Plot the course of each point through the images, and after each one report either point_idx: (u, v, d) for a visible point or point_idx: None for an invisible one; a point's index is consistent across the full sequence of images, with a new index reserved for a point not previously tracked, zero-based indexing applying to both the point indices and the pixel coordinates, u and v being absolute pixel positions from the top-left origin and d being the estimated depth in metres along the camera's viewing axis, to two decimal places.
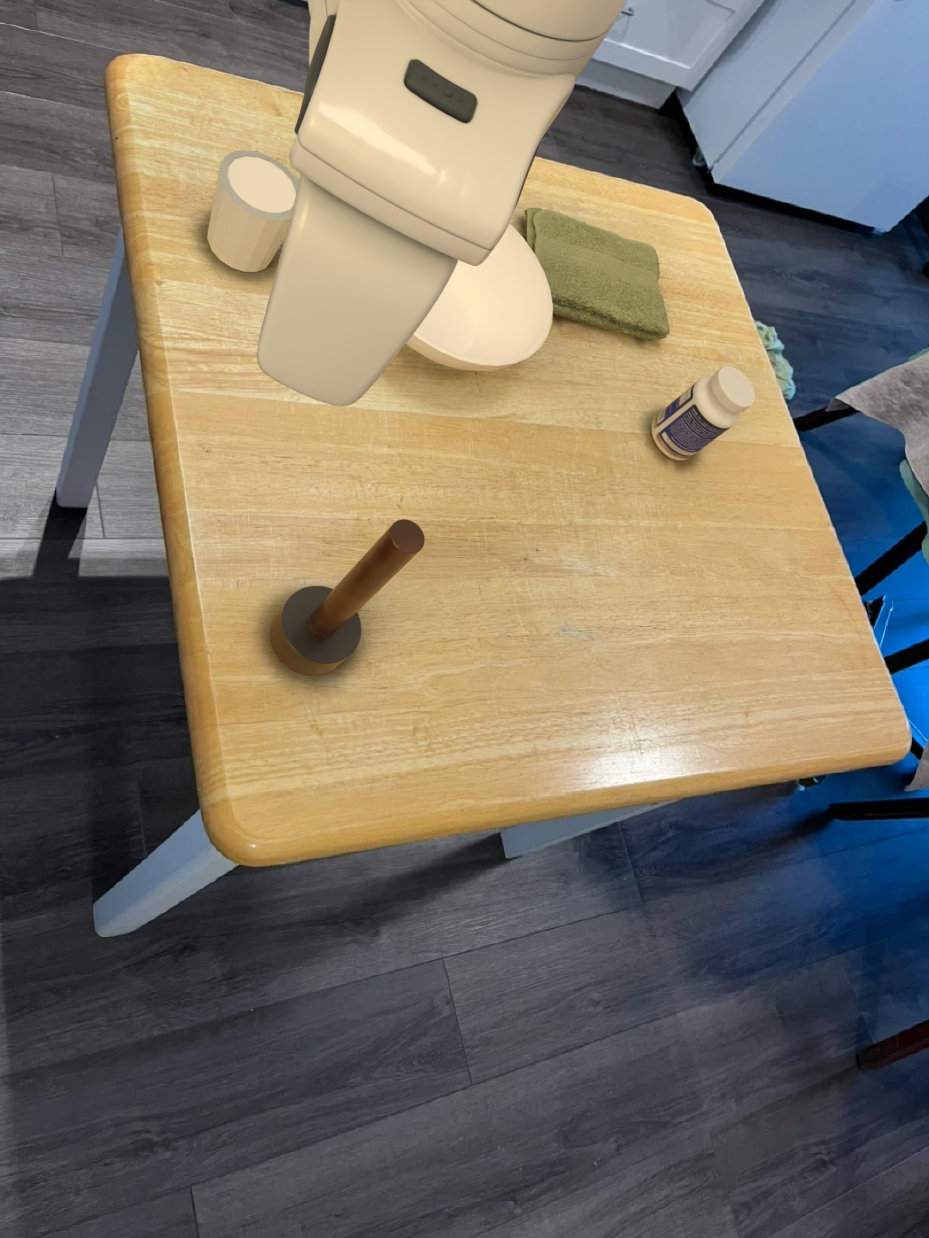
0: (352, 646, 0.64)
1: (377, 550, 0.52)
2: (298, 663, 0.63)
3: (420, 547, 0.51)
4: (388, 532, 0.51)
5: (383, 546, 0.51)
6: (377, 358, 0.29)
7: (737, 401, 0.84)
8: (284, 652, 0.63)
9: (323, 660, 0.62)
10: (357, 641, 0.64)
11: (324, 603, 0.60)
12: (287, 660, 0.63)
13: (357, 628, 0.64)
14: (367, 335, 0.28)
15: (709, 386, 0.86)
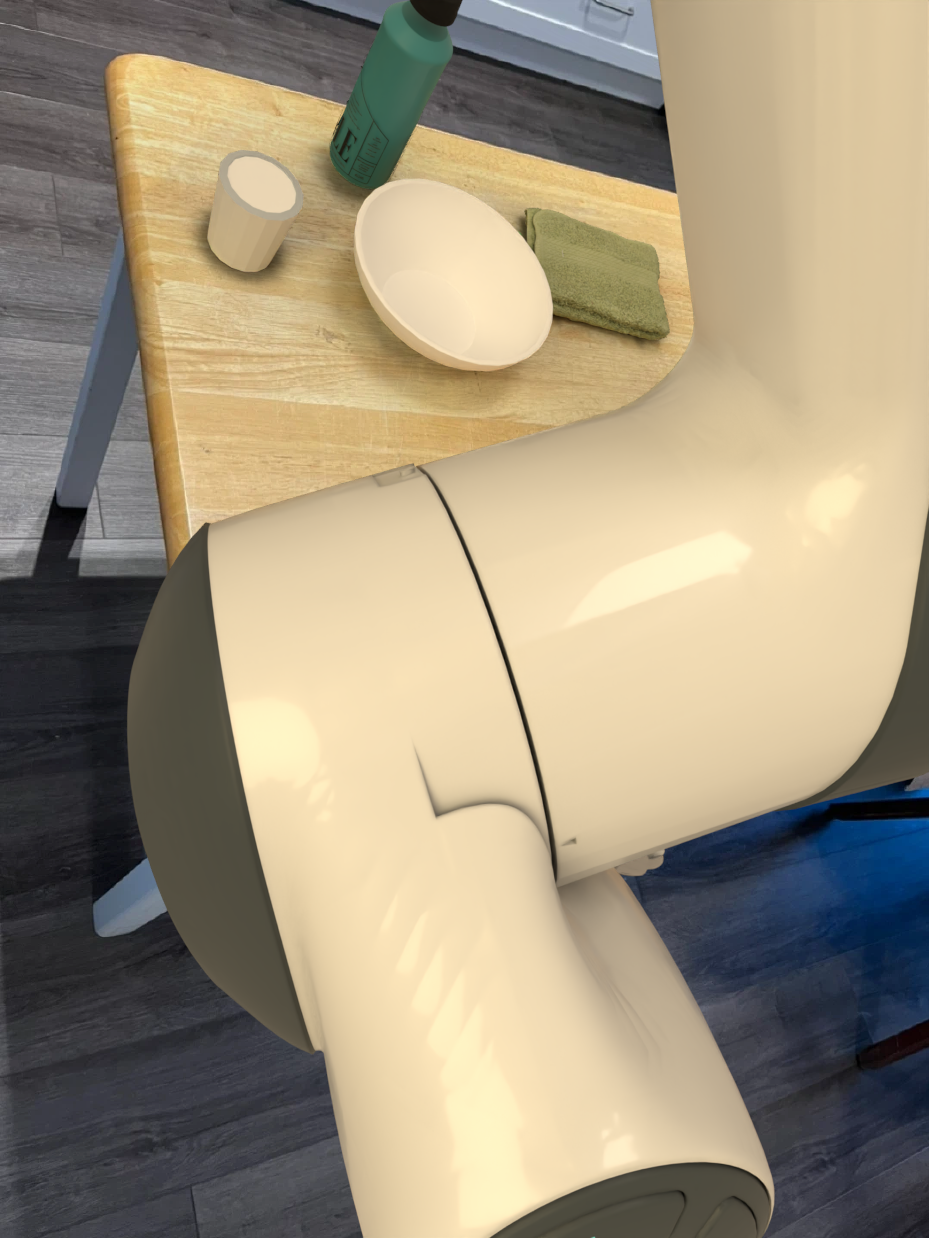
0: None
1: None
2: None
3: None
4: None
5: None
6: None
7: None
8: None
9: None
10: None
11: None
12: None
13: None
14: None
15: None
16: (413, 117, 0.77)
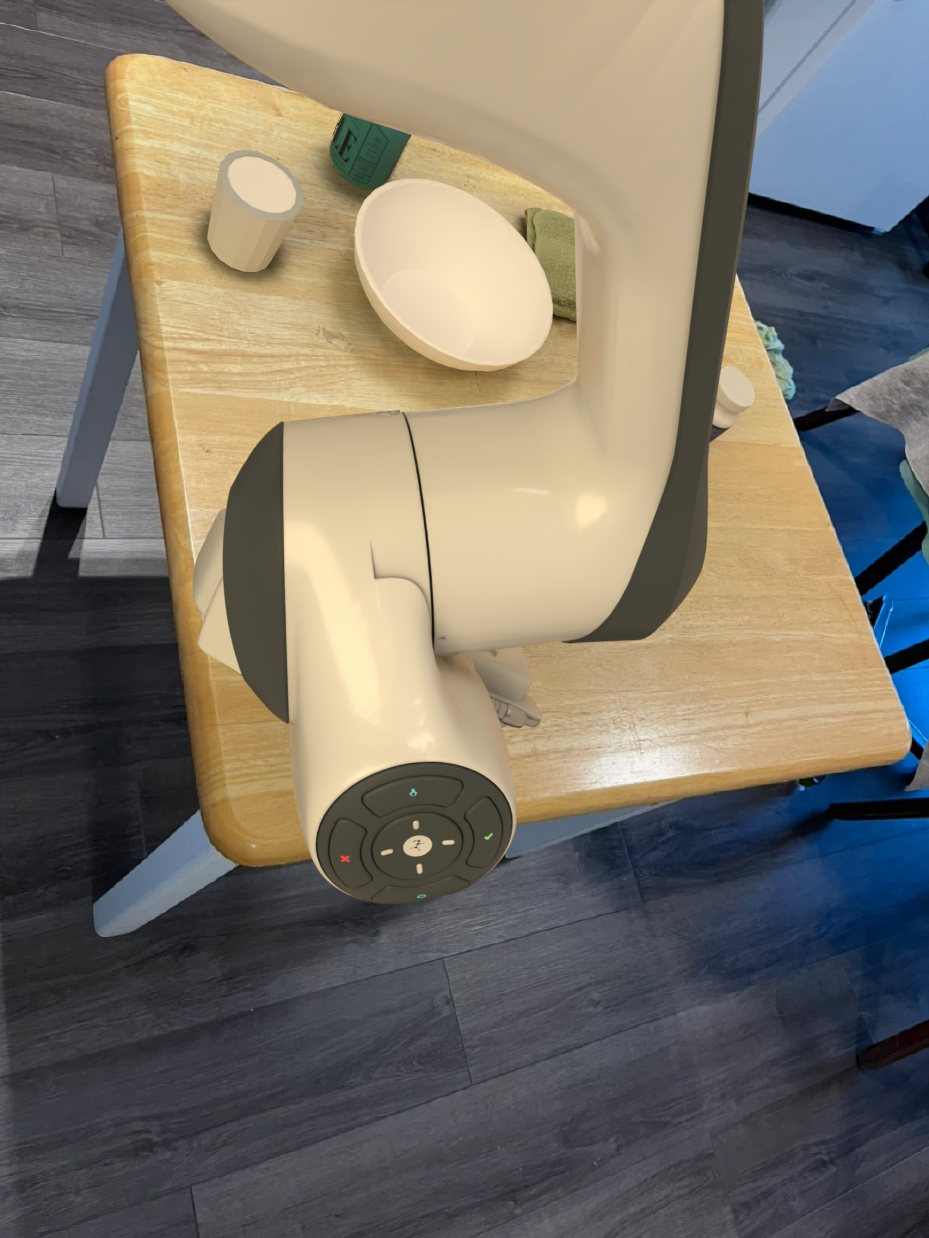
0: None
1: None
2: None
3: None
4: None
5: None
6: (194, 575, 0.47)
7: (737, 401, 0.84)
8: None
9: None
10: None
11: None
12: None
13: None
14: (199, 569, 0.46)
15: None
16: None
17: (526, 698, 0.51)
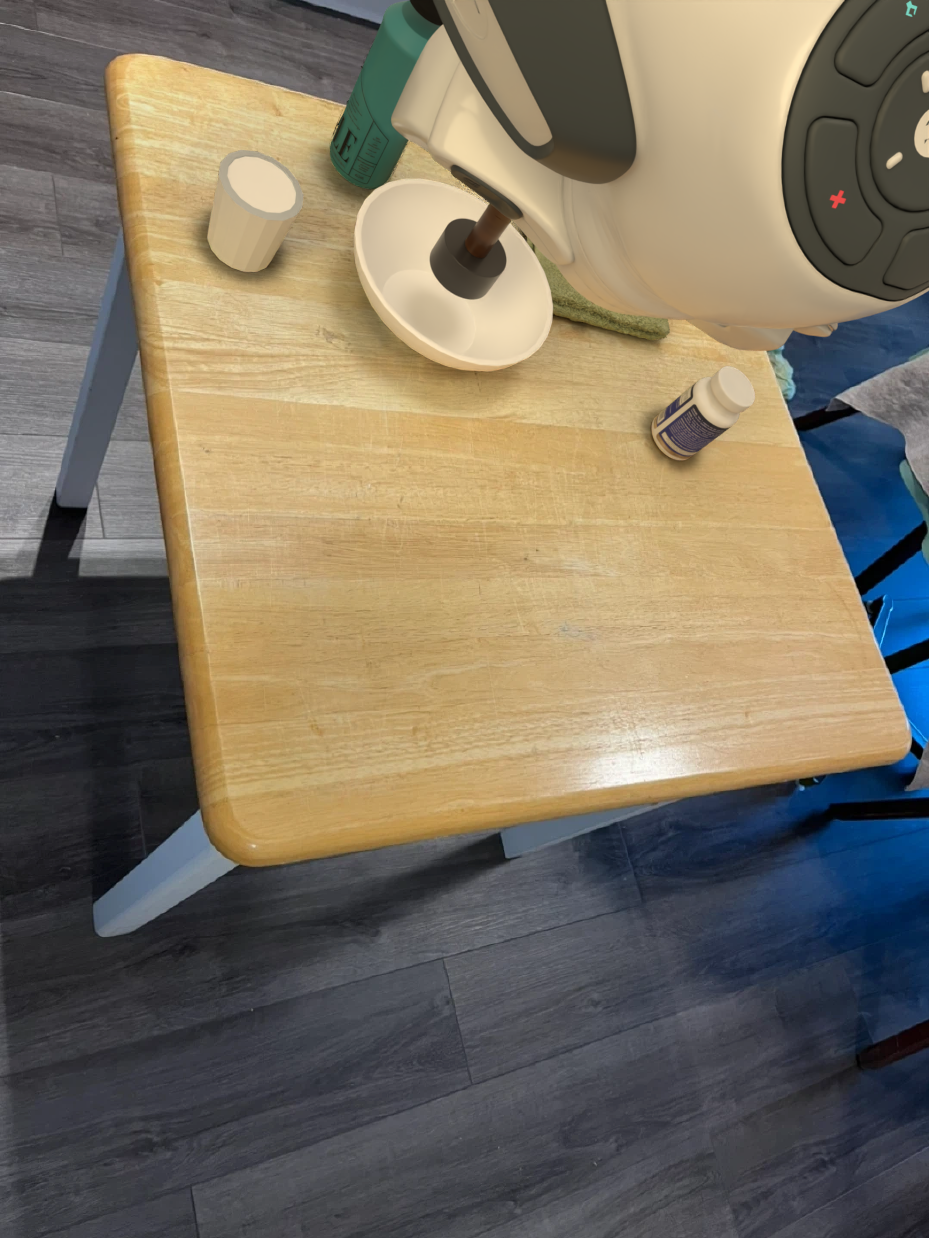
0: (499, 270, 0.75)
1: None
2: (453, 276, 0.74)
3: None
4: None
5: None
6: (400, 111, 0.36)
7: (737, 401, 0.84)
8: (443, 265, 0.74)
9: (476, 272, 0.74)
10: (503, 268, 0.75)
11: (485, 211, 0.71)
12: (443, 275, 0.75)
13: (503, 259, 0.76)
14: (411, 93, 0.35)
15: (709, 386, 0.86)
16: None
17: None
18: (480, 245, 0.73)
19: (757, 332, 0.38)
